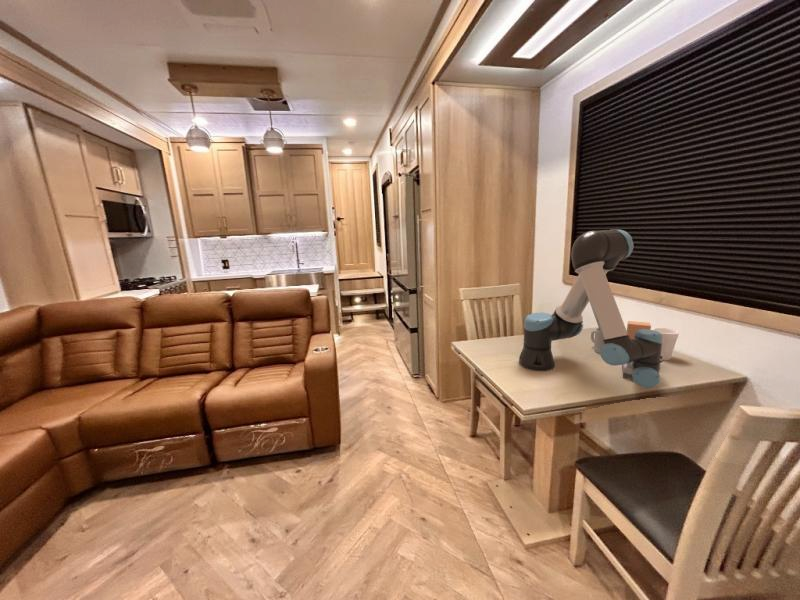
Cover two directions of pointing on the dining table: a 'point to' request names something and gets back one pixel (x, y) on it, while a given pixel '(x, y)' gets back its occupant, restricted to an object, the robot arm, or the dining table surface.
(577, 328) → the robot arm
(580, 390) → the dining table surface
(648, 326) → the large orange block
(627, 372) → the shallow rimmed tray
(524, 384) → the dining table surface
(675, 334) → the foam cup
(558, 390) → the dining table surface
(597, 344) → the mug
